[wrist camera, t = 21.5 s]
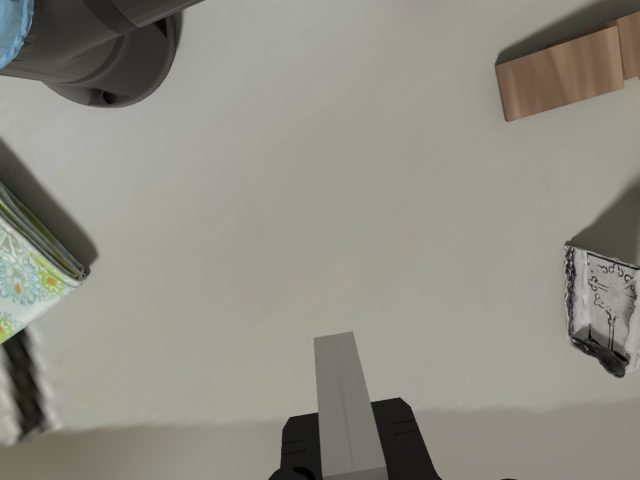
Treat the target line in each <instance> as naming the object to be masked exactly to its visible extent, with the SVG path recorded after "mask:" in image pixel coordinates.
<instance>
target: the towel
mask: <svg viewBox="0 0 640 480" xmlns="http://www.w3.org/2000/svg"><path fill="white" fill-rule="evenodd" d="M86 278H87V275H86V274H85V273H84V267H83V266H82V265H81V264H80V263H79V262H78V261H77V260H76V259H75V258H74V257H73V256H72V255H71V254H70V253H69V252H68V251H67V250H66V249H65V248H64V247H63V246H62V244H61V243H60V242H59V241H58V240H57V239H56V238H55V237H54V236H53V235H52V233H51V232H50V231H49V230H48V229H47V228H46V227H45V226H44V225H43V224H42V223H41V222H40V221H39V220H38V218H37V217H36V216H35V215H34V214H33V213H32V212H31V211H30V210H29V209H27V208H26V207H25V206H24V205H23V204H22V203H21V202H20V201H19V200H18V199H17V198H16V197H15V196H14V195H13V194H12V193H11V192H10V190H9V189H8V188H7V187H6V186H5V185H4V184H3V183H2V182H1V181H0V344H1V343H3V342H4V341H5V340H7V339H9V338H10V337H11V336H13V335H14V334H16V333H17V332H19V331H20V330H21V329H23V328H24V327H26V326H27V325H29V324H30V323H31V322H32V321H34V320H35V319H37V318H38V317H39V316H41V315H42V314H44V313H45V312H47V311H48V310H49V309H51V308H52V307H53V306H55V305H56V304H58V303H59V302H61V301H62V300H63V299H65V298H66V297H67V296H69V295H70V294H71V293H73V292H74V291H75V290H76V289H77V288H79V287H80V286H81V285H82V283H83V282H84V281H85V280H86Z"/></svg>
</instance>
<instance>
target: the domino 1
mask: <svg viewBox="0 0 640 480" xmlns="http://www.w3.org/2000/svg"><path fill="white" fill-rule="evenodd" d="M495 71H496V76H497V81H498V87H499V92H500V97H501V102H502V107H503V112H504V117H505V121H507V122H510V121H513V120H517V119H520V118H523V117H527V116H530V115H534V114H537V113H541V112H544V111H547V110H551V109H554V108H558V107H561V106H565V105H568V104H571V103H575V102H578V101H582V100H585V99H589V98H592V97H595V96H599V95H602V94H606V93H609V92H613V91H616V90H619V89H623V88H624V81H623V72H622V63H621V55H620V46H619V37H618V29H617V26H613V27H609V28H606V29H603V30H600V31H597V32H594V33H591V34H588V35H585V36H582V37H579V38H576V39H573V40H570V41H567V42H564V43H561V44H558V45H555V46H552V47H549V48H546V49H543V50H540V51H537V52H534V53H531V54H528V55H525V56H522V57H519V58H516V59H513V60H510V61H507V62H504V63H501V64H498V65H495Z"/></svg>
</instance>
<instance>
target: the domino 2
mask: <svg viewBox="0 0 640 480" xmlns="http://www.w3.org/2000/svg"><path fill="white" fill-rule="evenodd" d="M613 26H617V29H618V37H619V46H620V55H621V63H622V72H623V81H624V80H627V79H630V78H633V77H636V76H639V75H640V11H637V12H634V13H631V14H629V15H626V16H623V17H621V18H618V19H615V20H612V21H610V22H607V23H604V24H602V25H599V26H596V27H593V28H591V29H588V30H585V31H583V32H580V33H577V34H574V35H572V36H569V37H566V38H564V39H561V40H558V41H555V42H553V43H550V44H547V48H549V47H552V46H555V45H558V44H561V43H564V42H567V41H570V40H573V39H576V38H579V37H582V36H585V35H588V34H591V33H594V32H597V31H600V30H603V29H606V28H609V27H613Z"/></svg>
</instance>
